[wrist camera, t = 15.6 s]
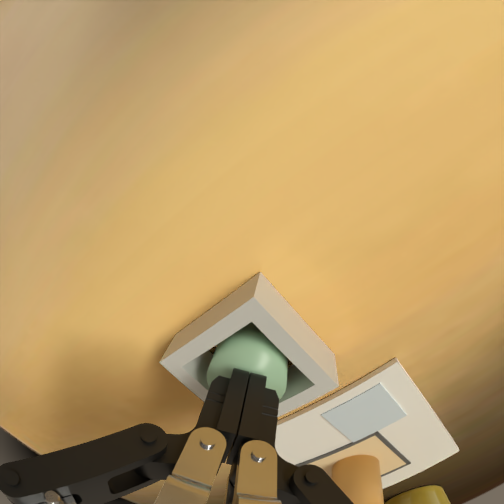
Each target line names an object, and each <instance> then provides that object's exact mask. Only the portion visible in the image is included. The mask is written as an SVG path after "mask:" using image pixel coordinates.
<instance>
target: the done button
mask: <svg viewBox="0 0 504 504" xmlns="http://www.w3.org/2000/svg"><path fill="white" fill-rule="evenodd" d="M233 368H237V369H240V370H244V371H248V372H249V375H250V373H251V372H252V373H256V374H260V375H263V376H267V380H266V387H265V388H269V389H273V390H276V393H277V395H278V398H279V400H280V399H281V398H282V396H283V395H284V393H285V391H286V386H287V370H288V358H287V357H286V356H285V355H284V354H283V353H282V352H281V351H280V350H279V349H278V348H277V347H276V346H275V345H274V344H273V343H272V342H271V341H270V340H269V339H268V338H267V337H266V336H265V335H264V334H263V333H262V332H261V331H260V330H259V329H258V327H257V326H256V325H255V324H254V323H253V322H250V323H249V324H247V325H246V326H244V327H243V328H241V329H240V330H238V331H237V332H235V333H234V334H232V335H231V336H229V337H228V338H226V339H225V340H223V341H222V342H220V343H219V344H217V347H216V349H215V352H214V355H213V357H212V360H211V363H210V365H209V368H208V371H207V382H208V385H209V387H210V385H211V382H212V381H213V380H214V379H215V378H216V377H218V376H223V377H226V378H231V375H232V371H233ZM248 378H249V377H248Z"/></svg>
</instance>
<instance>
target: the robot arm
mask: <svg viewBox="0 0 504 504" xmlns="http://www.w3.org/2000/svg"><path fill="white" fill-rule="evenodd" d="M248 377H249V378H248ZM266 380H267V376H263V375H260V374H256V373H252V372H251V373H250V375H249V372H248V371H244V370H240V369H237V368H233V371H232V375H231V378H226V377H223V376H218V377H216V378H215V379H214V380H213V381H212V382H211V385H210V388H209V390H208V393H207V396H206V399H205V402H204V405H203V408H202V411H201V414H200V416H199V419H198V422H197V425H196V427H195V428H194V429H193V430H192V431H190V432H188V433H185V434H166V433H165V432H164V431H163V430H162V429H161V428H160V427H158V426H156V425H154V424H149V423H143V424H139V425H136V426H134V427H131V428H128V429H125V430H122V431H120V432H117V433H114V434H111V435H108V436H105V437H102V438H99V439H96V440H93V441H90V442H86V443H83V444H80V445H76V446H73V447H70V448H66V449H63V450H59V451H55V452H52V453H48V454H44V455H40V456H36V457H32V458H28V459H23V460H19V461H15V462H9V463H5V464H3V465H1V466H0V490H1V491H2V492H3V493H4V494H5V495H6V497H7V498H8V499H9V500H10V501H11V502H12V503H13V504H103V503H106V502H109V501H111V500H114V499H117V498H119V497H122V496H125V495H127V494H130V493H132V492H134V491H137V490H139V489H142V488H144V487H146V486H149V485H151V484H153V483H155V482H157V481H159V480H166V481H165V483H164V485H163V487H162V489H161V491H160V493H159V495H158V497H157V499H156V501H155V503H154V504H206V502H207V499H208V496H209V493H210V491H211V487H212V485H213V482H214V479H215V476H216V475H217V473H218V471H219V468H220V466H221V463H225V461H226V458H227V456H228V458H227V462H226V464H230V465H232V466H231V470H230V474H229V476H228V478H227V484H226V491H225V499H224V504H354V503H353V502H352V501H351V500H350V499H349V498H348V497H347V496H346V494H345V493H344V492H343V491H342V490H341V489H340V488H339V487H338V486H337V485H336V483H335V482H334V481H333V480H332V479H331V478H330V477H329V475H328V474H327V473H326V472H325V471H324V470H323V469H322V468H320V467H318V466H316V465H311V464H306V465H302V466H300V467H298V466H295V465H293V464H291V463H289V462H287V461H285V460H284V459H282V458H281V457H280V456H279V454H278V453H277V451H276V449H275V439H276V429H277V417H278V408H279V398H278V395H277V393H276V390H273V389H269V388H265V387H266ZM228 453H229V454H228Z"/></svg>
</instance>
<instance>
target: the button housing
mask: <svg viewBox="0 0 504 504" xmlns="http://www.w3.org/2000/svg"><path fill="white" fill-rule="evenodd" d="M250 322H253V323H254V324H255V325H256V326H257V327H258V329H259V330H260V331H261V332H262V333H263V334H264V335H265V336H266V337H267V338H268V339H269V340H270V341H271V342H272V343H273V344H274V345H275V346H276V347H277V348H278V349H279V350H280V351H281V352H282V353H283V354H284V355H285V356H286V357H287V358H288V359H289V360H290V361H291V362H292V363H293V365H292V366H290V367H288V370H287V386H286V391H285V393H284V395H283V396H282V398H281V399H280V400H279V408H278V417H279V416H281V415H283V414H285V413H288V412H290V411H292V410H294V409H296V408H298V407H300V406H302V405H304V404H306V403H308V402H310V401H312V400H314V399H316V398H318V397H320V396H322V395H324V394H326V393H328V392H330V391H331V390H333V389H335V388H337V387H339V382H338V375H337V368H336V361H335V354H334V353H333V352H332V351H331V350H330V349H329V348H328V347H327V345H326V344H325V343H324V342H323V341H322V340H321V339H320V338H319V337H318V335H317V334H316V333H315V332H314V331H313V330H312V329H311V328H310V327H309V325H308V324H307V323H306V322H305V321H304V320H303V319H302V318H301V317H300V315H299V314H298V313H297V312H296V311H295V310H294V309H293V308H292V306H291V305H290V304H289V303H288V302H287V301H286V300H285V299H284V298H283V296H282V295H281V294H280V293H279V292H278V291H277V290H276V289H275V287H274V286H273V285H272V284H271V283H270V282H269V281H268V280H267V279H266V277H265V276H264V275H263V274H262V273H261V272H259V273H258V274H257V275H255V276H254V277H253V278H251V279H250V280H249V281H247V282H246V283H245V284H243V285H242V286H241V287H239V288H238V289H237V290H235V291H234V292H233V293H231V294H230V295H229V296H227V297H226V298H225V299H223V300H222V301H220V302H219V303H218V304H216V305H215V306H214V307H212V308H211V309H210V310H208V311H207V312H206V313H204V314H203V315H201V316H200V317H199V318H197V319H196V320H195V321H193V322H192V323H191V324H189V325H188V326H186V327H185V328H184V329H182V330H181V331H180V332H178V333H177V334H176V335H175V336H174V338H173V340H172V341H171V343H170V345H169V346H168V348H167V350H166V352H165V353H164V355H163V357H162V358H161V360H160V362H159V363H160V364H161V365H163V366H164V367H165V368H166V369H167V370H168V371H169V372H170V373H171V374H172V375H173V376H175V377H176V378H177V379H178V380H179V381H180V382H181V383H183V384H184V385H185V386H186V387H187V388H188V389H189V390H191V391H192V392H193V393H194V394H195V395H196V396H198V397H199V398H200V399H201V400H202V401H204V402H205V399H206V396H207V393H208V390H209V388H210V387H209V385H208V382H207V371H208V368H209V365H210V363H211V360H212V357H213V354H212V353H211V352H210V351H209V349H211V348H212V347H214V346H215V345H217V344H219V343H220V342H222V341H223V340H225V339H226V338H228V337H229V336H231V335H232V334H234V333H235V332H237V331H238V330H240V329H241V328H243V327H244V326H246V325H247V324H249V323H250Z"/></svg>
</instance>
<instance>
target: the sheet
mask: <svg viewBox="0 0 504 504" xmlns="http://www.w3.org/2000/svg"><path fill="white" fill-rule="evenodd" d="M275 449H276V451H277V453H278V454H279V456H280V457H281V458H282V459H284V460H285V461H287V462H289V463H291V464H293V465H295V466H298V467H300V466H302V465H306V464H311V465H316V466H318V467H320V468H322V469H323V470H324V471H325V472H326V473H327V474H328V475H329V477H330V478H331V479H332V467H333V465H334V464H335V463H337V462H338V461H340V460H342V459H344V458H347V457H350V456H355V455H370V456H374V457H376V458H377V459H378V460H379V464H380V472H381V480H382V489H383V488H386V487H388V486H391V485H393V484H395V483H398V482H400V481H402V480H404V479H407V478H409V477H411V476H413V475H415V474H417V473H419V472H421V471H423V470H425V469H427V468H429V467H431V466H433V465H435V464H437V463H439V462H441V461H442V460H444V459H446V458H448V457H450V456H451V455H453V454H455V453H457V452H458V451H459V448H458V446H457V445H456V443H455V442H454V440H453V439H452V437H451V436H450V434H449V433H448V431H447V430H446V428H445V427H444V425H443V424H442V422H441V421H440V419H439V418H438V416H437V415H436V413H435V412H434V410H433V409H432V407H431V406H430V404H429V403H428V402H427V400H426V399H425V397H424V396H423V394H422V393H421V392H420V390H419V389H418V387H417V386H416V384H415V383H414V382H413V380H412V379H411V377H410V376H409V375H408V373H407V372H406V370H405V369H404V368H403V366H402V365H401V364H400V362H399V361H398V359H397V358H396V357H395V358H394V359H392V360H391V361H389V362H388V363H386V364H384V365H383V366H381V367H380V368H378V369H376V370H375V371H373V372H371V373H370V374H368V375H366V376H364V377H363V378H361V379H359V380H358V381H356V382H354V383H352V384H351V385H349V386H347V387H345V388H343V389H341V390H340V391H338V392H336V393H334V394H332V395H330V396H328V397H326V398H325V399H323V400H321V401H319V402H317V403H315V404H313V405H311V406H309V407H307V408H305V409H302V410H300V411H298V412H296V413H294V414H292V415H290V416H288V417H285V418H283V419H281V420H279V421H277V429H276V439H275Z"/></svg>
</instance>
